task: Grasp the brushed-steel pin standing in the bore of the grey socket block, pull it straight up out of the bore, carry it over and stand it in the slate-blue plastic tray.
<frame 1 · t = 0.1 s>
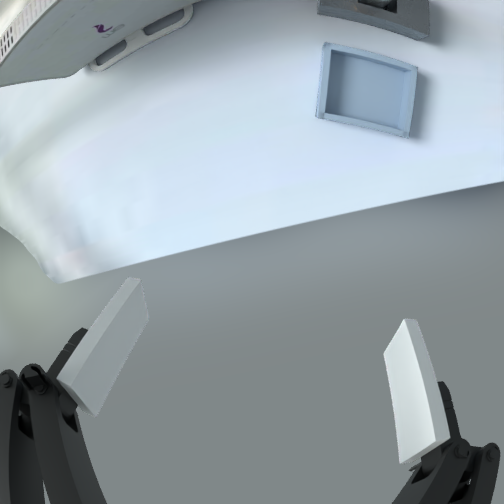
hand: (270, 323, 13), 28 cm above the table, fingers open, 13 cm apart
network device: (134, 27, 27), on the table
grey socket block: (370, 2, 22), on the table
tray: (364, 90, 29), on the table
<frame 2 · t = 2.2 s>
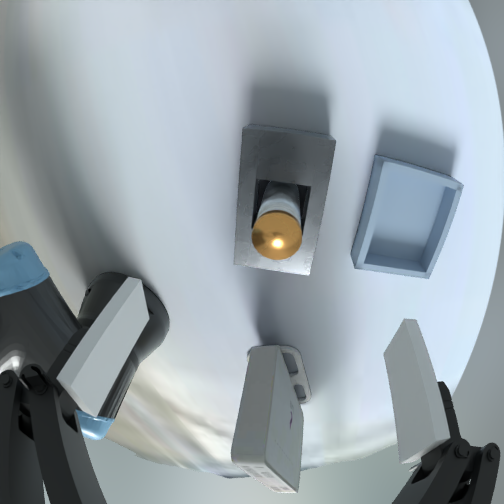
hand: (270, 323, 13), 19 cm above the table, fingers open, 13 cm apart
steel pin: (279, 212, 25), in the grey socket block
network device: (282, 377, 46), on the table
grey socket block: (281, 193, 29), on the table
tray: (402, 215, 28), on the table
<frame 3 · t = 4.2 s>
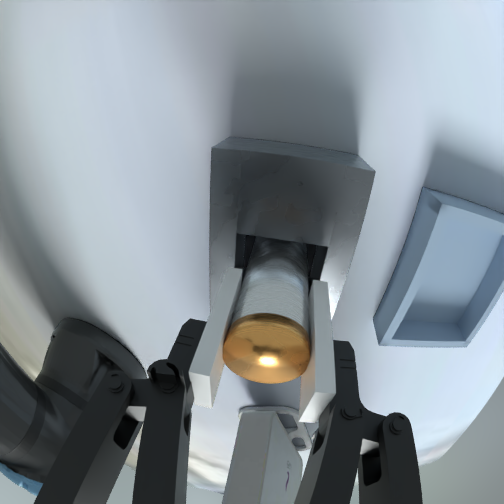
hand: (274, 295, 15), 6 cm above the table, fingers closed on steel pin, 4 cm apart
steel pin: (275, 287, 15), in the grey socket block, touching gripper
network device: (279, 430, 37), on the table
grey socket block: (280, 243, 19), on the table
tray: (447, 270, 18), on the table
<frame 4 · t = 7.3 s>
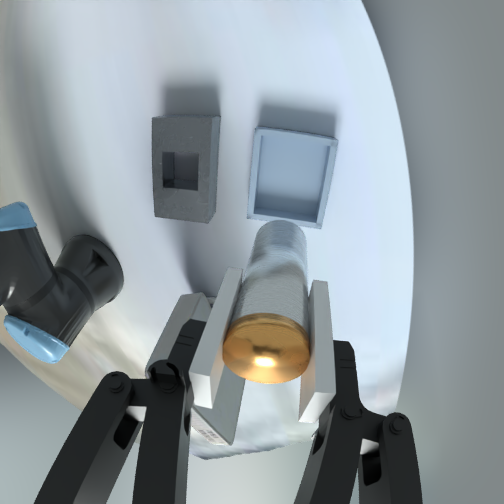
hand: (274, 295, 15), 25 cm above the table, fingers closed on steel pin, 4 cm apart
steel pin: (275, 287, 15), point 24 cm above the table, touching gripper
network device: (219, 332, 54), on the table
grey socket block: (190, 163, 37), on the table
tray: (290, 174, 36), on the table
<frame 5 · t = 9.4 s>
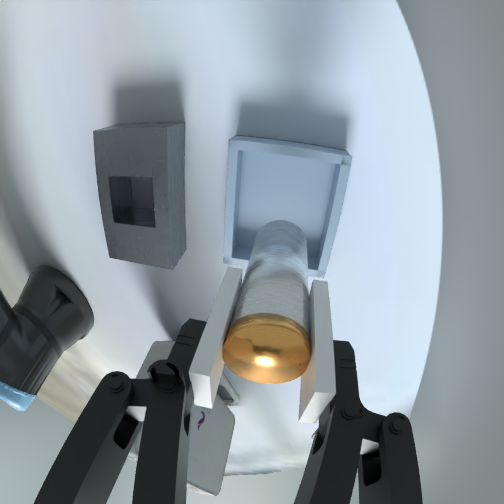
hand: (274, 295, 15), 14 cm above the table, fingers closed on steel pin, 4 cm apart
steel pin: (275, 287, 15), point 13 cm above the table, touching gripper
network device: (203, 376, 45), on the table
grey socket block: (150, 187, 28), on the table
tray: (283, 202, 26), on the table
when the fingers open (7 cm above the table, at t = 10.9 s): steel pin stays where it is, resting on tray.
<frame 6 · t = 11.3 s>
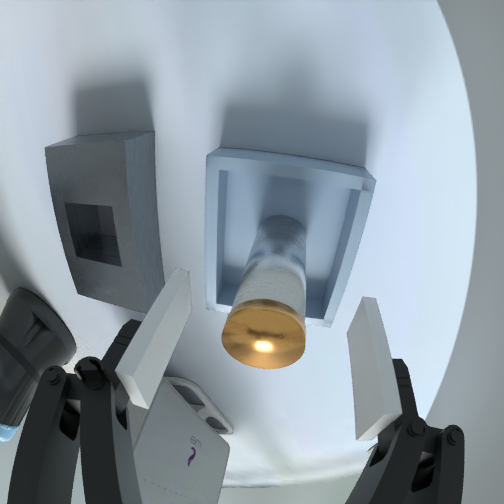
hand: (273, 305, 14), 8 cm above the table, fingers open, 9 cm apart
steel pin: (274, 278, 16), in the tray, point 6 cm above the table
network device: (194, 407, 39), on the table
grey socket block: (118, 212, 22), on the table
tray: (282, 234, 21), on the table
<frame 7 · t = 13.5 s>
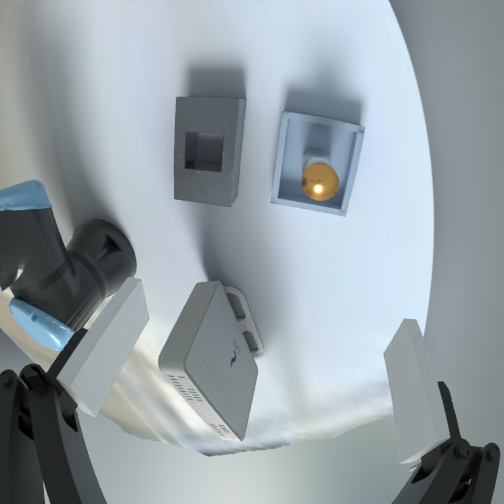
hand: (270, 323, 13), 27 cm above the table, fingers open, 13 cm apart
steel pin: (317, 170, 30), in the tray, point 6 cm above the table
network device: (233, 323, 53), on the table
grey socket block: (212, 146, 36), on the table
tray: (315, 160, 35), on the table
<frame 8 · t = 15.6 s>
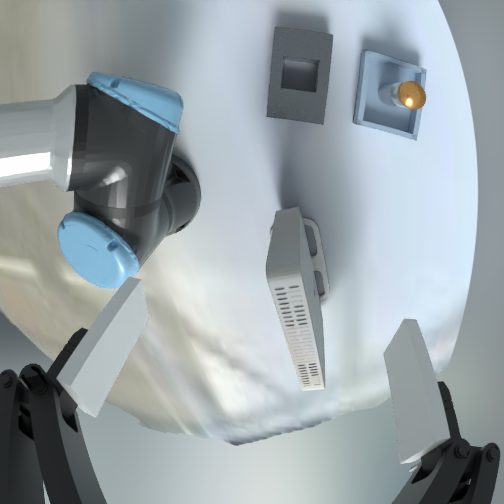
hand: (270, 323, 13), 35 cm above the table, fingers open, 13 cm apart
steel pin: (399, 94, 29), in the tray, point 6 cm above the table
network device: (301, 264, 52), on the table
grey socket block: (299, 76, 35), on the table
tray: (387, 95, 34), on the table
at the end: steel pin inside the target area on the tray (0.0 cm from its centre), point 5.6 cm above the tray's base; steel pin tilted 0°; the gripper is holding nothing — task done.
